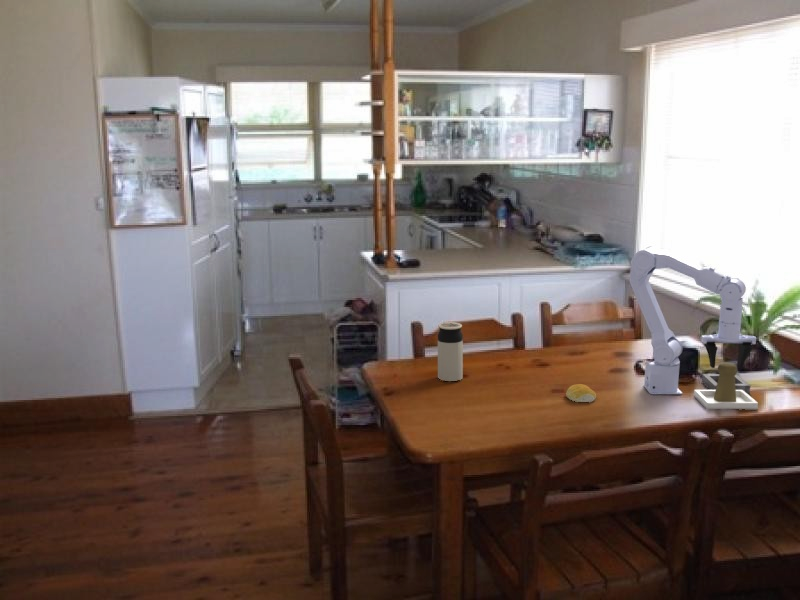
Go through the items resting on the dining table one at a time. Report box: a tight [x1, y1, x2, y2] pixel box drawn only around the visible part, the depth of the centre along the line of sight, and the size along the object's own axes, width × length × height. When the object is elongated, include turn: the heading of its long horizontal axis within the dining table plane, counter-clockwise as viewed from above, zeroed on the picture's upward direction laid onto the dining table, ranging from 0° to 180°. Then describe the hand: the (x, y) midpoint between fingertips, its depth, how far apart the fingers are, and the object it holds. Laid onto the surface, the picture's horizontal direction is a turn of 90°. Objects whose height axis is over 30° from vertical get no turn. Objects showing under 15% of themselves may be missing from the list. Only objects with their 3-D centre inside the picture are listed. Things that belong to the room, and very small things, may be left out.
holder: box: [701, 373, 751, 394], centre depth 230 cm, size 10×10×2 cm
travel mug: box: [437, 321, 464, 381], centre depth 240 cm, size 8×8×18 cm
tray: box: [693, 389, 759, 411], centre depth 217 cm, size 14×11×2 cm
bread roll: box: [565, 383, 597, 403], centre depth 223 cm, size 8×9×4 cm
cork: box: [714, 362, 738, 402], centre depth 217 cm, size 6×6×11 cm
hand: (725, 367), depth 217 cm, fingers open, 7 cm apart
